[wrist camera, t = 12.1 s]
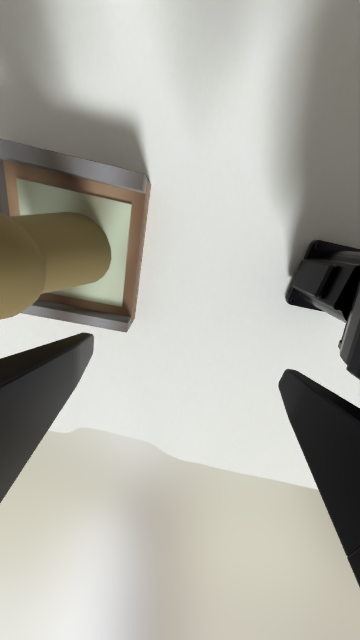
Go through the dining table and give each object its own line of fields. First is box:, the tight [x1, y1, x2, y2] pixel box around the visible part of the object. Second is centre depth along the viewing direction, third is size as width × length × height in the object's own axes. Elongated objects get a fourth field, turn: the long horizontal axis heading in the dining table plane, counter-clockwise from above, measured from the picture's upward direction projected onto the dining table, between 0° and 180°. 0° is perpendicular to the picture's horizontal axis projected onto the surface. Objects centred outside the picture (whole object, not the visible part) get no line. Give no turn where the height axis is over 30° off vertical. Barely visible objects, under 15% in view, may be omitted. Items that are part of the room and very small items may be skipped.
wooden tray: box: [0, 139, 151, 332], centre depth 18 cm, size 12×13×4 cm
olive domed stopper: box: [0, 212, 111, 320], centre depth 12 cm, size 6×6×11 cm
